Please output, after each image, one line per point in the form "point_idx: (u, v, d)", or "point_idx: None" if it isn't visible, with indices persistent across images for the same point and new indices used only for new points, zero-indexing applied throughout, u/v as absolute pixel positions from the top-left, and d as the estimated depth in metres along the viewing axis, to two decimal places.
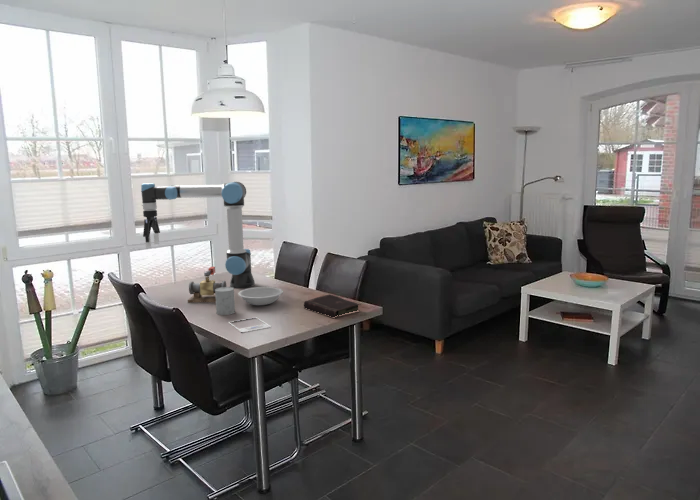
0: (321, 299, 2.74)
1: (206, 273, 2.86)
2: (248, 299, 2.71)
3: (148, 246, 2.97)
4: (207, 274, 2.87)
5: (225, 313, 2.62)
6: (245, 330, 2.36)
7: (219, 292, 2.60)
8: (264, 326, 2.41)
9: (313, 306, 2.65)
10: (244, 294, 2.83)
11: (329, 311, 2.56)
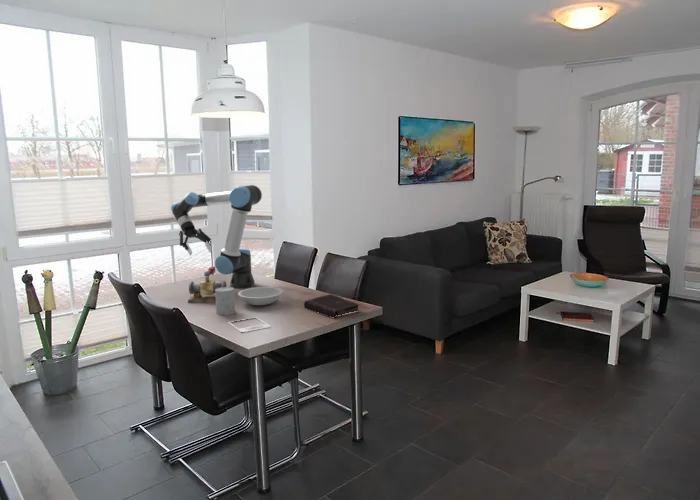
0: (321, 299, 2.74)
1: (206, 273, 2.86)
2: (248, 299, 2.71)
3: (190, 252, 2.99)
4: (207, 274, 2.87)
5: (225, 313, 2.62)
6: (245, 330, 2.36)
7: (219, 292, 2.60)
8: (264, 326, 2.41)
9: (313, 306, 2.65)
10: (244, 294, 2.83)
11: (328, 311, 2.56)
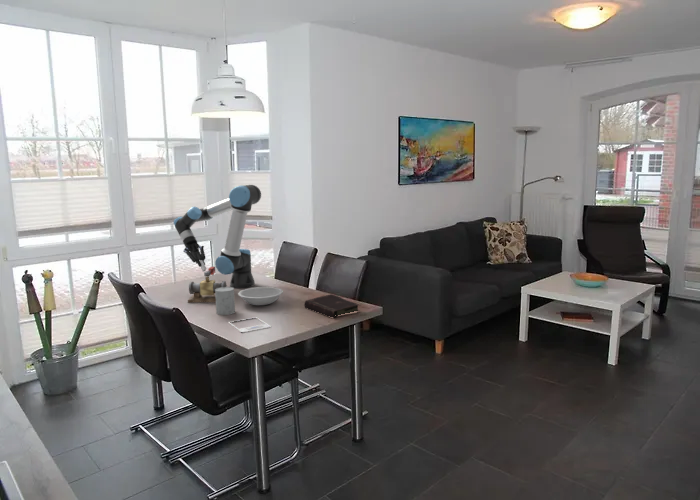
0: (321, 299, 2.74)
1: (206, 273, 2.86)
2: (248, 299, 2.71)
3: (203, 269, 3.03)
4: (207, 274, 2.87)
5: (225, 313, 2.62)
6: (245, 330, 2.36)
7: (219, 292, 2.60)
8: (264, 326, 2.41)
9: (313, 306, 2.66)
10: (244, 294, 2.83)
11: (328, 311, 2.56)
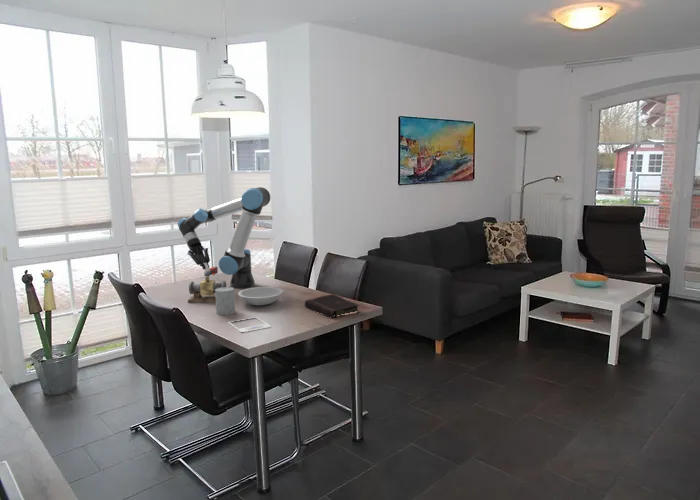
0: (322, 299, 2.74)
1: (206, 273, 2.86)
2: (248, 299, 2.71)
3: None
4: (207, 274, 2.87)
5: (225, 313, 2.62)
6: (245, 330, 2.36)
7: (219, 292, 2.60)
8: (264, 326, 2.41)
9: (313, 306, 2.66)
10: (244, 294, 2.83)
11: (327, 311, 2.56)
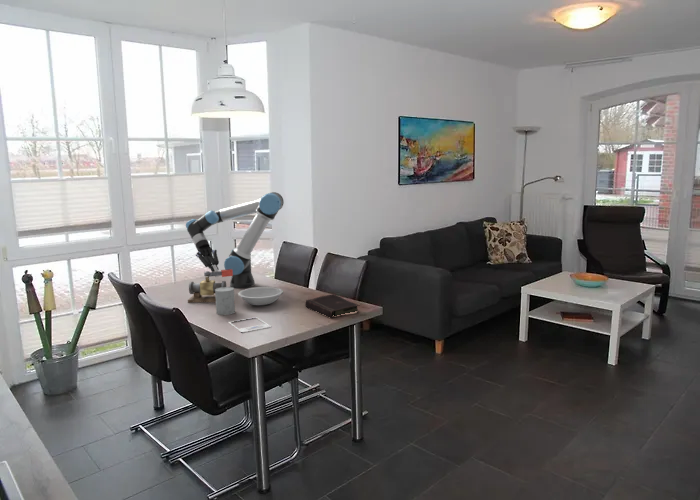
0: (322, 299, 2.74)
1: (204, 273, 2.87)
2: (248, 299, 2.71)
3: None
4: (204, 274, 2.87)
5: (225, 313, 2.62)
6: (245, 330, 2.36)
7: (219, 292, 2.60)
8: (264, 326, 2.41)
9: (313, 306, 2.66)
10: (244, 294, 2.83)
11: (326, 311, 2.56)
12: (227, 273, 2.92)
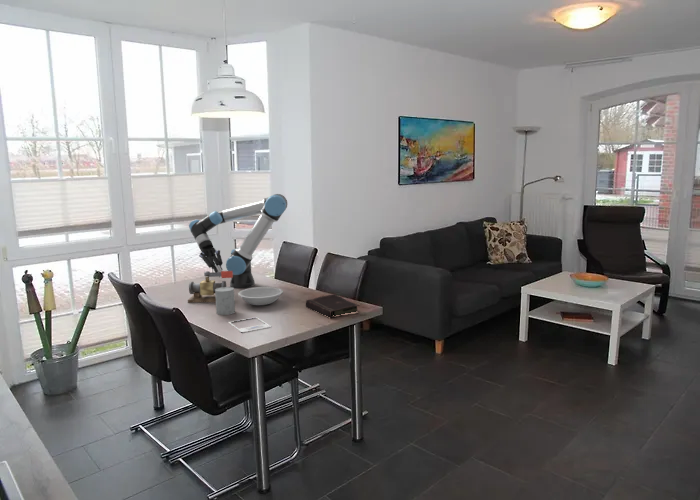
0: (323, 299, 2.74)
1: (204, 273, 2.88)
2: (248, 299, 2.71)
3: None
4: (204, 274, 2.87)
5: (225, 313, 2.62)
6: (245, 330, 2.36)
7: (219, 292, 2.60)
8: (264, 326, 2.41)
9: (313, 306, 2.67)
10: (244, 294, 2.83)
11: (326, 311, 2.56)
12: (226, 274, 2.88)
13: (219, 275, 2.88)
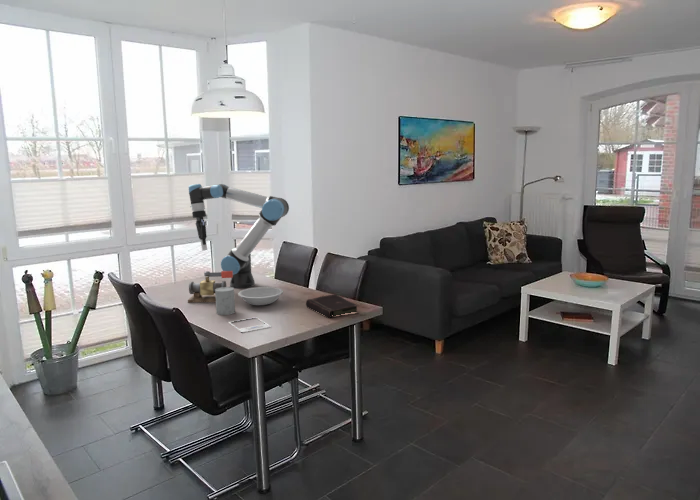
0: (323, 298, 2.75)
1: (204, 273, 2.88)
2: (248, 299, 2.71)
3: (205, 248, 3.05)
4: (204, 274, 2.87)
5: (225, 313, 2.62)
6: (245, 330, 2.36)
7: (219, 292, 2.60)
8: (264, 326, 2.41)
9: (313, 305, 2.67)
10: (244, 294, 2.83)
11: (325, 311, 2.56)
12: (226, 274, 2.88)
13: (219, 275, 2.88)
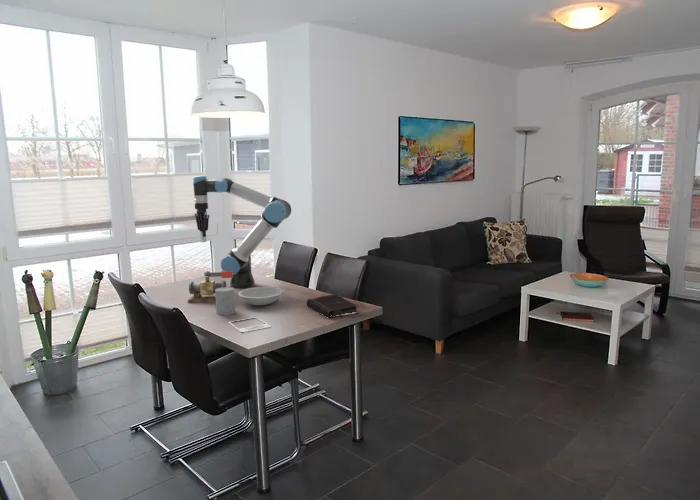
0: (324, 298, 2.75)
1: (204, 273, 2.88)
2: (248, 299, 2.71)
3: (204, 240, 3.07)
4: (204, 274, 2.87)
5: (225, 313, 2.62)
6: (245, 330, 2.36)
7: (219, 292, 2.60)
8: (264, 326, 2.41)
9: (313, 305, 2.67)
10: (244, 294, 2.83)
11: (324, 311, 2.56)
12: (226, 274, 2.88)
13: (219, 275, 2.88)
